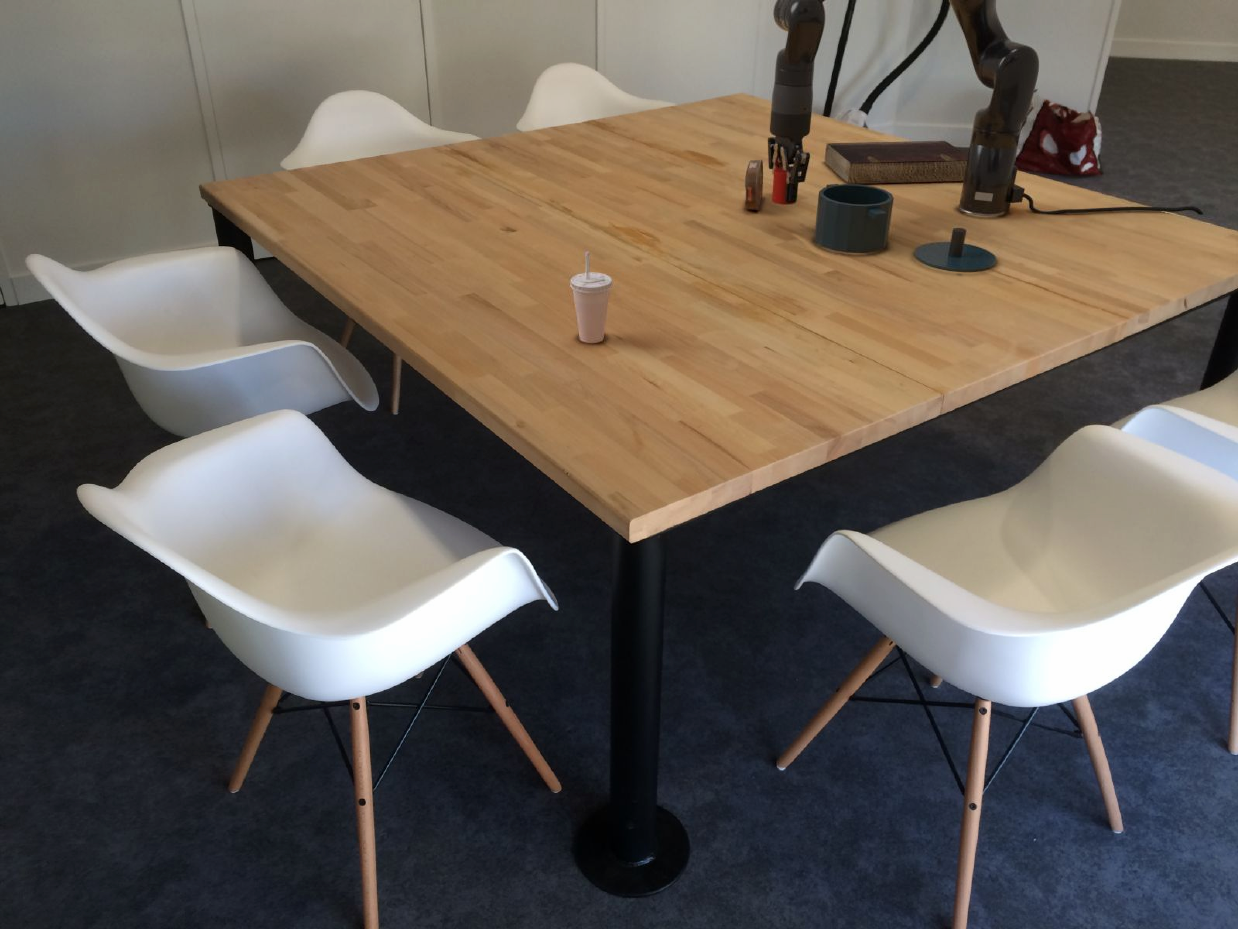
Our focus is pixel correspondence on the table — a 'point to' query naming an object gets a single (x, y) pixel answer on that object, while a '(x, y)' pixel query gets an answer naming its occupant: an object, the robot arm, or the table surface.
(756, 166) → the tin
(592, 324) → the smoothie
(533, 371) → the table surface
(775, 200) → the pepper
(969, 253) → the lid
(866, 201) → the pot
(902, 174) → the hardback book
